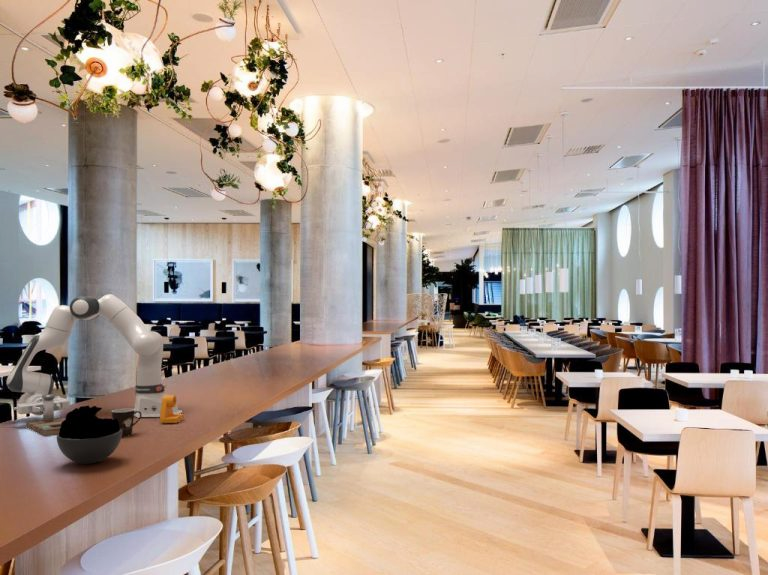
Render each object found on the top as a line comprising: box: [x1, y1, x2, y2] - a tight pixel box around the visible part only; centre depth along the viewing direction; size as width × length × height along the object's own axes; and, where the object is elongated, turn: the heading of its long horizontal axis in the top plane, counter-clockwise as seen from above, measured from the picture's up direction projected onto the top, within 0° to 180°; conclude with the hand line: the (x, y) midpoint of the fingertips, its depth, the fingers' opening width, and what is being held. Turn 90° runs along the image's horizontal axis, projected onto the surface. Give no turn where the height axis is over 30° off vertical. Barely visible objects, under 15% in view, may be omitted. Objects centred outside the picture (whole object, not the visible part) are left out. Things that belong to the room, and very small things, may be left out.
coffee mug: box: [111, 407, 142, 437], centre depth 252 cm, size 12×9×10 cm
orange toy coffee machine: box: [159, 394, 185, 424], centre depth 278 cm, size 11×7×12 cm, turn 179°
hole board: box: [25, 417, 66, 437], centre depth 263 cm, size 24×14×3 cm, turn 45°
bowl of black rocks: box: [56, 405, 123, 465], centre depth 210 cm, size 20×20×19 cm
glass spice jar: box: [42, 393, 56, 422], centre depth 268 cm, size 5×5×11 cm
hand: (49, 408), depth 267 cm, fingers open, 6 cm apart
